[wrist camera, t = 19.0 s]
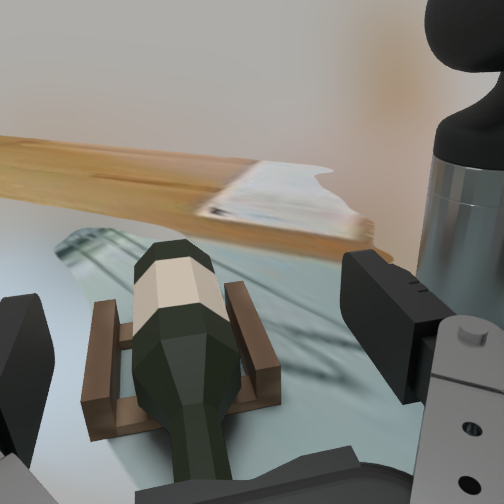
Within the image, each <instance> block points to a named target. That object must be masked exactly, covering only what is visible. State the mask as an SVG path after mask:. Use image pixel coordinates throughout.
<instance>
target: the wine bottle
mask: <svg viewBox="0 0 504 504" xmlns="http://www.w3.org/2000/svg"><path fill="white" fill-rule="evenodd" d="M132 375H133V380H134V386H135V391H136V397H137V402H138V406H139V407H140V408H141V409H143V410H144V411H145V412H146V413H147V414H148V415H150V416H151V417H152V418H153V419H154V420H155V421H157V422H158V423H159V424H160V425H161V426H163V427H164V428H165V429H166V430H167V431H168V432H170V434H171V447H172V460H173V474H174V483H177V482H182V481H186V480H191V479H196V480H232V475H231V470H230V465H229V461H228V456H227V451H226V446H225V441H224V436H223V431H222V427H221V422H222V420H223V418H224V417H225V415H226V413H227V411H228V410H229V408H230V406H231V405H232V403H233V401H234V399H235V398H236V396H237V394H238V393H239V391H240V389H241V387H242V386H241V368H240V353H239V350H238V347H237V343H236V340H235V337H234V334H233V331H232V327H231V324H230V321H229V318H228V314H227V311H226V308H225V305H224V301H223V298H222V295H221V292H220V288H219V285H218V282H217V279H216V276H215V272H214V269H213V266H212V263H211V259H210V256H209V255H207V254H206V253H204V252H203V251H202V250H200V249H199V248H198V247H196V246H195V245H193V244H192V243H191V242H189V241H188V240H187V239H182V240H173V241H165V242H156V243H154V244H153V245H152V246H151V247H150V248H149V249H148V250H147V252H146V253H145V254H144V255H143V256H142V257H141V259H140V260H139V261H138V262H137V263H136V264H135V266H134V305H133V345H132Z"/></svg>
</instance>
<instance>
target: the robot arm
mask: <svg viewBox="0 0 504 504" xmlns="http://www.w3.org/2000/svg"><path fill="white" fill-rule="evenodd" d="M425 33H426V37H427V41H428V44H429V46H430V48H431V51H432V52H433V53H434V55H435V56H436V58H437V59H439V60H440V61H441V62H442V63H443V64H444V65H446V66H448V67H450V68H452V69H455V70H459V71H464V72H470V73H478V72H501V73H500V76H499V78H498V81H497V83H496V85H495V87H494V88H493V89H492V90H491V91H490V92H489V93H488V94H487V95H486V96H485V97H484V98H482V99H481V100H480V101H478V102H477V103H475V104H473V105H472V106H470V107H468V108H466V109H464V110H461V111H459V112H457V113H455V114H452V115H450V116H448V117H447V118H445V119H444V120H442V122H441V123H440V124H439V125H438V128H437V130H436V135H435V141H434V148H433V157H432V163H431V170H430V178H429V186H428V193H427V200H426V207H425V214H424V222H423V229H422V236H421V242H420V250H419V257H418V265H417V271H416V277H415V276H413V275H412V274H411V273H410V272H409V271H407V270H405V269H403V268H400V267H399V266H396V265H394V264H388V263H387V262H386V261H385V260H384V259H383V258H382V257H380V256H379V255H378V254H377V253H376V252H375V251H374V250H372V249H368V250H361V251H353V252H346V253H345V254H344V256H343V259H342V272H341V289H340V309H341V314H342V317H343V320H344V322H345V323H346V325H347V326H348V328H349V329H350V330H351V332H352V333H353V335H354V336H355V338H356V339H357V340H358V342H359V343H360V345H361V346H362V348H363V349H364V350H365V352H366V353H367V355H368V356H369V358H370V359H371V360H372V362H373V363H374V365H375V366H376V368H377V369H378V370H379V372H380V373H381V375H382V376H383V378H384V379H385V380H386V382H387V383H388V385H389V386H390V388H391V389H392V390H393V392H394V393H395V395H396V396H397V398H398V399H399V400H400V402H401V403H402V405H405V404H410V403H415V402H420V401H421V402H422V403H423V405H424V406H425V407H424V412H423V418H422V424H421V430H420V436H419V442H418V448H417V454H416V460H415V465H414V471H413V476H412V475H410V474H408V473H406V472H403V471H401V470H398V469H395V468H392V467H388V466H384V465H380V464H374V463H366V462H359V461H358V459H357V457H356V455H355V453H354V451H353V449H352V447H351V445H350V446H345V447H341V448H336V449H331V450H327V451H322V452H317V453H313V454H308V455H303V456H300V457H298V458H296V459H294V460H292V461H290V462H288V463H286V464H284V465H281V466H279V467H277V468H275V469H273V470H271V471H269V472H267V473H265V474H263V475H261V476H259V477H257V478H254V479H251V480H196V479H191V480H186V481H182V482H177V483H172V484H168V485H163V486H158V487H154V488H149V489H144V490H140V491H135V504H504V0H428V2H427V6H426V11H425ZM54 355H55V354H54V347H53V343H52V339H51V335H50V332H49V328H48V325H47V321H46V317H45V314H44V310H43V307H42V303H41V300H40V298H39V296H38V295H37V294H36V293H34V294H26V295H19V296H12V297H4V298H3V299H2V300H1V302H0V504H58V503H57V502H56V500H55V499H54V498H53V497H52V496H51V495H50V494H49V492H48V491H47V490H46V489H45V488H44V487H43V485H42V484H41V483H40V482H39V481H38V480H37V479H36V477H35V476H34V475H33V474H32V473H31V472H30V471H29V468H30V464H31V460H32V456H33V452H34V448H35V444H36V440H37V436H38V432H39V428H40V424H41V420H42V416H43V412H44V407H45V404H46V400H47V396H48V392H49V388H50V384H51V380H52V376H53V372H54V366H55V356H54Z"/></svg>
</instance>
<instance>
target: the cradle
mask: <svg viewBox="0 0 504 504" xmlns="http://www.w3.org/2000/svg"><path fill="white" fill-rule="evenodd" d="M224 288H225V303H226V311H227V314H228V318H229V321H230V324H231V327H232V331H233V334H234V337H235V340H236V343H237V347H238V350H239V353H240V358H241V361H242V364H243V367H244V370H245V373H246V376H241V386H242V387H241V389H240V391H239V393H238V394H237V396H236V398H235V399H234V401H233V403H232V405H231V406H230V408H229V410H228V411H227V413H226V415H228V414H233V413H238V412H243V411H248V410H253V409H258V408H263V407H268V406H273V405H278V404H281V365H280V363H279V360H278V358H277V356H276V354H275V352H274V349H273V347H272V345H271V343H270V340H269V338H268V336H267V334H266V331H265V329H264V327H263V325H262V322H261V320H260V318H259V316H258V313H257V311H256V309H255V307H254V304H253V302H252V300H251V298H250V296H249V293H248V291H247V289H246V287H245V284H244V282H243V281H238V282H231V283H224ZM132 345H133V322H131V323H124V324H120V321H119V316H118V310H117V305H116V300H115V299H113V300H106V301H99V302H94V309H93V316H92V323H91V331H90V338H89V345H88V352H87V359H86V366H85V373H84V380H83V387H82V394H81V401H80V402H81V406H82V410H83V414H84V418H85V422H86V426H87V429H88V433H89V437H90V441H91V442H93V441H98V440H102V439H108V438H113V437H118V436H123V435H128V434H133V433H138V432H143V431H148V430H153V429H158V428H163V426H161V425H160V424H159V423H158V422H157V421H155V420H154V419H153V418H152V417H151V416H150V415H148V414H147V413H146V412H145V411H144V410H143V409H141V408H140V407H139V406H138V402H137V397H136V396H132V397H126V398H121V399H119V392H120V364H121V350H122V349H128V348H132Z"/></svg>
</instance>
